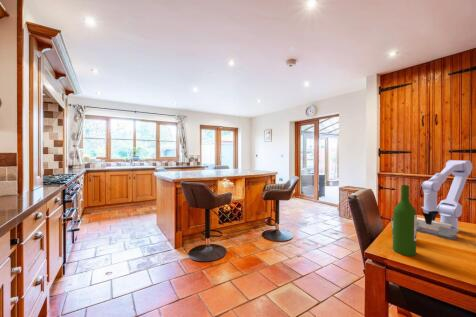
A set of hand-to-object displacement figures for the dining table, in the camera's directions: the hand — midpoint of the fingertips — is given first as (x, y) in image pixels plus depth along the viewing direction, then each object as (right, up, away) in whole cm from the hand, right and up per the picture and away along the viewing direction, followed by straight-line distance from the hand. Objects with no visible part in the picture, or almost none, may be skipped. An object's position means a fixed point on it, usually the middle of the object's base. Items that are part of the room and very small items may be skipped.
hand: (429, 223), depth 126 cm
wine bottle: (-35, -7, -24) cm, 42 cm away
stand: (0, -5, 0) cm, 5 cm away
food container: (-23, -6, -8) cm, 25 cm away
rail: (0, -2, 0) cm, 2 cm away
